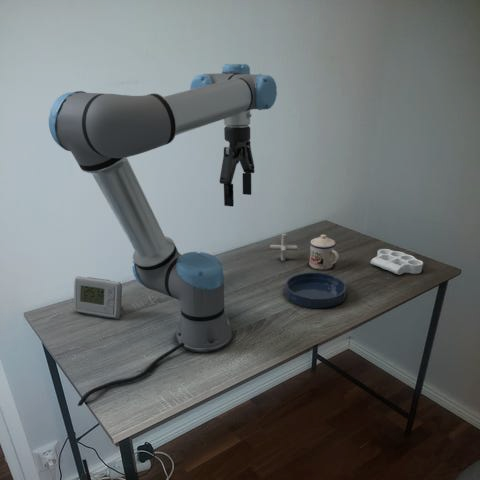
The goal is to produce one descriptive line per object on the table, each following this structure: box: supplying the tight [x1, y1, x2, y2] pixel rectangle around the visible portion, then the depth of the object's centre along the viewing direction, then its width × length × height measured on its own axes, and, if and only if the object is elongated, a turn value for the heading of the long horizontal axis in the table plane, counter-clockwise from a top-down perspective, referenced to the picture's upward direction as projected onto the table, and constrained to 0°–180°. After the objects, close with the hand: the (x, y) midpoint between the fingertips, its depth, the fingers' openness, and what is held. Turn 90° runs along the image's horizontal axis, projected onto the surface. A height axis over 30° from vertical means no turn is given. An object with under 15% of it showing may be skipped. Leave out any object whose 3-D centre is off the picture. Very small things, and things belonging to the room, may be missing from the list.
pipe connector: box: [269, 233, 298, 262], centre depth 168 cm, size 10×10×10 cm
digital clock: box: [73, 275, 123, 319], centre depth 135 cm, size 16×9×11 cm, turn 60°
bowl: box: [284, 272, 347, 309], centre depth 145 cm, size 19×19×3 cm
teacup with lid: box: [308, 234, 340, 271], centre depth 162 cm, size 12×9×12 cm
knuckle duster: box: [370, 248, 424, 276], centre depth 164 cm, size 3×18×15 cm
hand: (238, 200), depth 139 cm, fingers open, 13 cm apart
